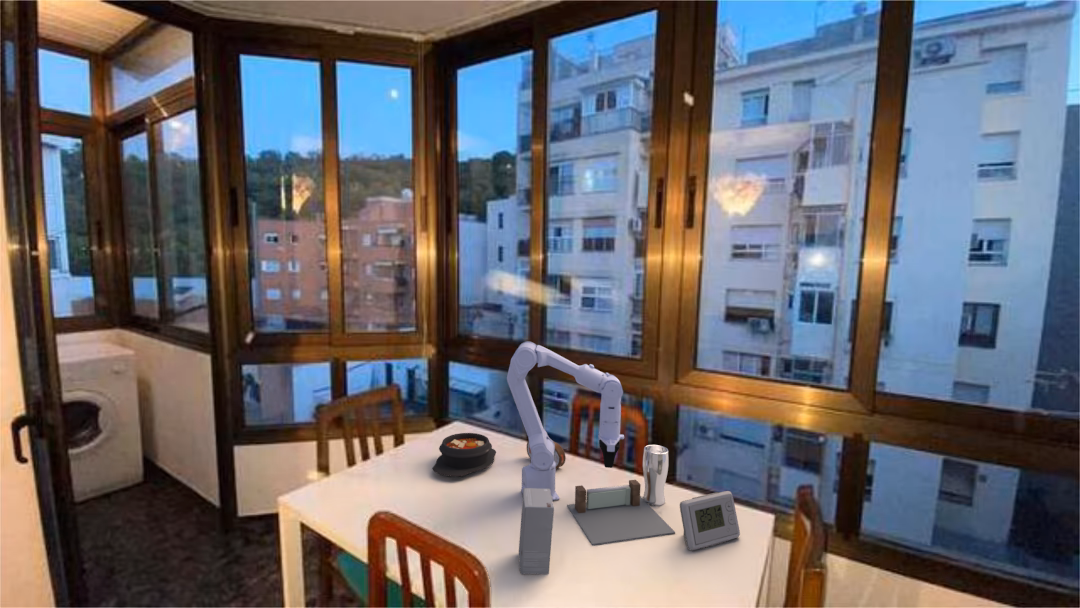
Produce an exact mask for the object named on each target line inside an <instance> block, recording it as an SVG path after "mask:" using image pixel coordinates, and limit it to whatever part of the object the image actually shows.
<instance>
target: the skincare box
mask: <svg viewBox="0 0 1080 608" xmlns="http://www.w3.org/2000/svg"><path fill="white" fill-rule="evenodd" d="M552 499H553V497H552V496H551V491H550V489H537V488H524V489H523V494H522V502H521V503H522V504H521V517H520V529H519V530H520V532H519V541H518V566H519V573H520V574H521V575H545V574H546V575H549V574H550V562H551V553H552V552H551V551H552V538H553V536H552V535H553V527H554V525H553V523H554V513H555V512H554V511H555V508H554V507H555V506H554V503H553V501H554V500H552Z"/></svg>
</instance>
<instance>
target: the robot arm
mask: <svg viewBox="0 0 1080 608" xmlns="http://www.w3.org/2000/svg"><path fill="white" fill-rule="evenodd" d="M509 363H510V364H509V367H508V372H507V375H506V382H507V385H508V387H509V389H510V393H511V395H512V399H513V400H514V403H515V406H516V408H517V410H518V414H519V416H520V419H521V421H522V422H521V423H522V425H523V426H524V429H525V433H526V435H527V437H528V441H529V445H530V449H531V453H532V455H531V459H530V460H531V461H530V464H528V465H525V466H522V468H521V489H520V492H521V494H522V495H523V489H524V488H537V489H550V491H551V496H552V497H553V499H552V501H559V500H560V499H561V498H560V496H559V494H558V493H557V492H556V471H557V469H556V463H555V461H554V450H555V445H554V442H555V441H554V440H552V439H551V438H550V437H549V435H548V432H547V431H546V429H545V428H544V427H543V423H542V421H541V418H540V415H539V413H538V409H537V407H536V404H535V402H534V400H533V397H532V393H531V391H530V389H529V386H528V383H527V381H526V377H527V375H528V373H529V371H531V370H532V369H533V368H534V367H535V365H536V364H537V368H540V367H545V366H546V367H547V366H550V367H552V368H554V369H557V370H559V371H561V372H563V373H566V374H569V375H570V376H573V377H574V378H575V381H576V383H577V384H579V385H581V386H583V387H585V388H587V389H589V390H591V391H593V392H596V393H599V394H600V395H601V400H600V404H599V406H600V410H599V430H598V431H599V433H598V445H599V448H600V450H601V453H602V456H603V457H602V458H603V465H604V468H607V469H610V468H613V467H614V463H615V459H616V455H617V453H618V451H619V450H620V448H621V445H620V440H624V439H625V435H624V434H623V433H622V434H621V415H622V412H621V411H622V404H621V402H622V401H621V400H622V397H623V395H624V390H623V386H622V384H621V381H620V380H619V379H618V377H616V376H615V375H614V374H610V373H609V372H603V371H600V370H599V369H598V368H595V366H594V364H591V363H590V364H589V365H588V364H587V363H584V364H582V365H578V364H576V363H574V362H572V361H571V360H569V359H567V358H565V357H564V356H561V355H560V354H558V353H556V352H554V351H552V350H551V349H548V348H546V347H544V346H542V345H540V344H536V343H534V342H532V341H524V342H522V343H521V344H519V345H518V348H516V350H515V352H514V353H513V355H512V357H511V359H510V362H509Z"/></svg>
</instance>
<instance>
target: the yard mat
mask: <svg viewBox="0 0 1080 608" xmlns="http://www.w3.org/2000/svg"><path fill="white" fill-rule="evenodd" d="M566 507H567V508H568V510H569V511H570V512H571V514H572V516H573V518H574V519H575V520H576V522H577V524H578V525H579V526H580V529H581V530H582V532H583V534H584V535H585V536H586V538H587V539H588V541H589V542H590V544H591V546H593V547H594V546H598V545H599V546H600V545H606V544H607V545H608V544H612V543H620V542H627V541H634V540H640V539H646V538H655V537H662V536H667V535H668V536H669V535H675V534H676V531H675V530H674V529H673V528H671V526H670V525H669V524H668V523H667V522H666V521H665V520H664V519H663V518H662V516H660V515H659V513H657V512H656V511H655V510H654V508H652V506H651V505H650V504H648V503H647V502H646V501H645V500H644V499H643V497H642V496H641V495H640V506H632V505H631V504H630V505H618V506H610V507H602V508H594V509H588V508H587V507H586V512H585V513H578V512H577V510H576V509H575V503H572V504H570V503H569V504H567V506H566Z"/></svg>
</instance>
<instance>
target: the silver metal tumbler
mask: <svg viewBox="0 0 1080 608" xmlns="http://www.w3.org/2000/svg"><path fill="white" fill-rule="evenodd" d="M668 471H669V449H668V448H667V447H665V446H662V445H658V444H648V445H646V446H644V448H643V456H642V472H643V480H644V492H643V497H642V498H643V499H644V500H645V501H646V502H647V503H648V504H649V506H659V507H660V506H662V505H664V504H665V502H666V496H665V485H666V481H667V476H668Z"/></svg>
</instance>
